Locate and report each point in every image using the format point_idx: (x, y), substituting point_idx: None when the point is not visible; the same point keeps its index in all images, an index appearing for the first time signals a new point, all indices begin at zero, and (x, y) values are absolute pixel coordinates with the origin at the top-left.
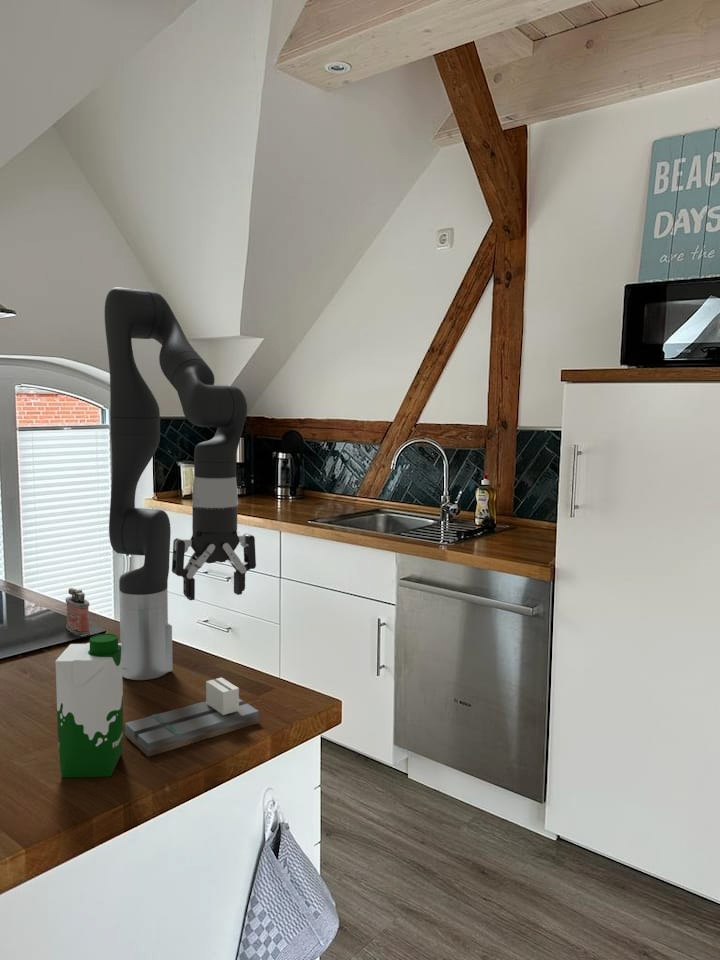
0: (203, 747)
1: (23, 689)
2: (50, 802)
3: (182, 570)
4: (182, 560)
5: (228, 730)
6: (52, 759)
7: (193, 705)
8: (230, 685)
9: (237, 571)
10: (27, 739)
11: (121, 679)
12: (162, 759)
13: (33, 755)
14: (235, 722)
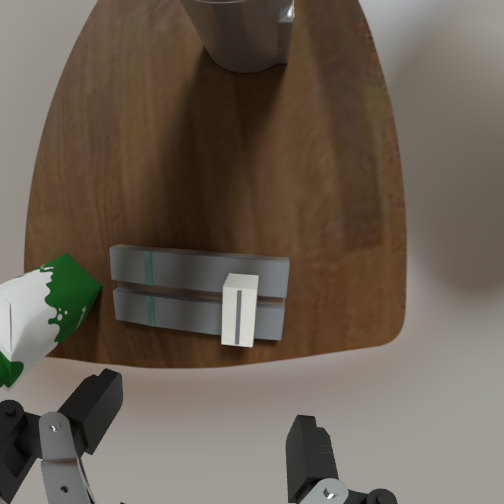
0: (184, 337)
1: (93, 30)
2: None
3: (32, 458)
4: (14, 484)
5: None
6: (51, 245)
7: (212, 260)
8: (247, 330)
9: (301, 498)
10: (44, 179)
11: (39, 352)
12: (135, 327)
13: (41, 223)
14: None
